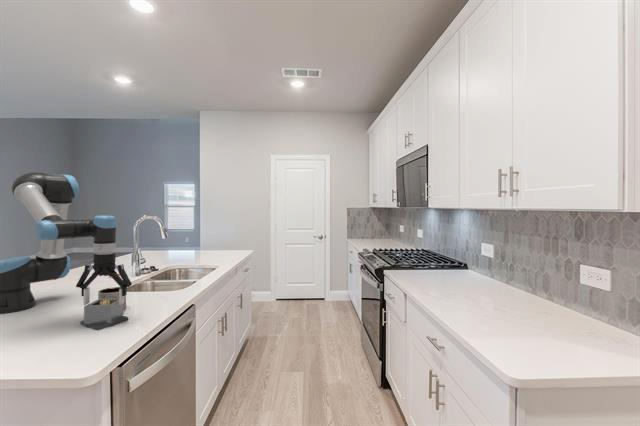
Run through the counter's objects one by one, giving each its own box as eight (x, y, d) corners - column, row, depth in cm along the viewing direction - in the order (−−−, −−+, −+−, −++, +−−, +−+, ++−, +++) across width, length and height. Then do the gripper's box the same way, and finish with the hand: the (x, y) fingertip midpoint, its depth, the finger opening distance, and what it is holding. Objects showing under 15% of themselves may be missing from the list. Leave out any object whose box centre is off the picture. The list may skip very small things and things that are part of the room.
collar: (84, 323, 124) (84, 306, 124) (98, 315, 134) (98, 299, 134) (111, 323, 125) (111, 305, 125) (123, 314, 135) (123, 298, 135)
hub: (80, 324, 127) (80, 302, 127) (111, 315, 137) (111, 295, 137) (96, 330, 121) (96, 307, 121) (128, 320, 132) (128, 299, 132)
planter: (93, 315, 138) (93, 293, 137) (103, 307, 148) (103, 287, 148) (121, 313, 140) (121, 292, 140) (129, 306, 151) (129, 286, 151)
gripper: (65, 254, 123) (65, 307, 124) (132, 254, 127) (131, 306, 127) (77, 251, 131) (77, 301, 132) (140, 251, 134) (140, 300, 135)
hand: (104, 303), depth 129 cm, fingers open, 13 cm apart
